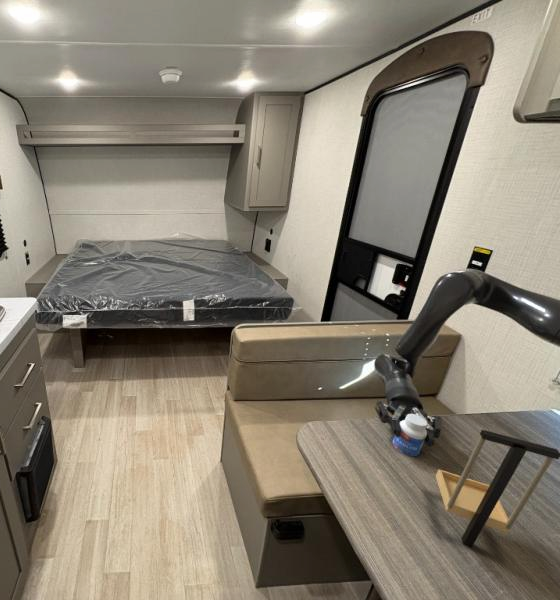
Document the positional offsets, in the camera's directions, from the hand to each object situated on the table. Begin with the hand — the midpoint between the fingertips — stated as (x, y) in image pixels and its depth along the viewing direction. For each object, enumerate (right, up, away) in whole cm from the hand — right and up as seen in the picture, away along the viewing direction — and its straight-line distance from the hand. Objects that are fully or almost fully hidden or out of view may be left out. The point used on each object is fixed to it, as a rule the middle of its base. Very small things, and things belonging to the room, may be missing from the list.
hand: (414, 438), depth 74 cm
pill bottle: (+1, -5, +4) cm, 7 cm away
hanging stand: (-1, -11, -12) cm, 17 cm away
